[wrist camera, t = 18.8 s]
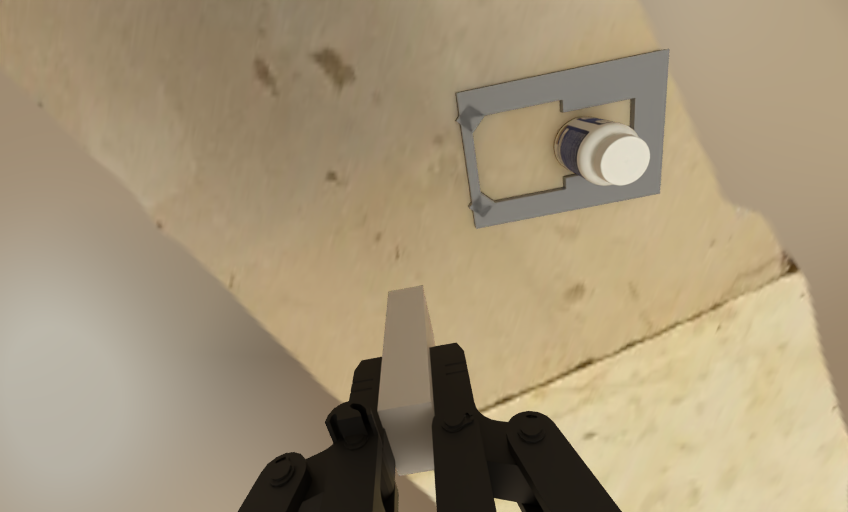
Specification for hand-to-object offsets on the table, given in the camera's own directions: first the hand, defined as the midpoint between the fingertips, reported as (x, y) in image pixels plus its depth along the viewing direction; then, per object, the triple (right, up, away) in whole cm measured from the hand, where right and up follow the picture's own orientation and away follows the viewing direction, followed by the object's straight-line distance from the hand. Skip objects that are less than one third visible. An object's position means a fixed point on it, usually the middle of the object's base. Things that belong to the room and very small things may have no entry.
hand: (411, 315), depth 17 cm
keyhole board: (+15, +14, +23) cm, 31 cm away
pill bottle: (+17, +14, +23) cm, 32 cm away
